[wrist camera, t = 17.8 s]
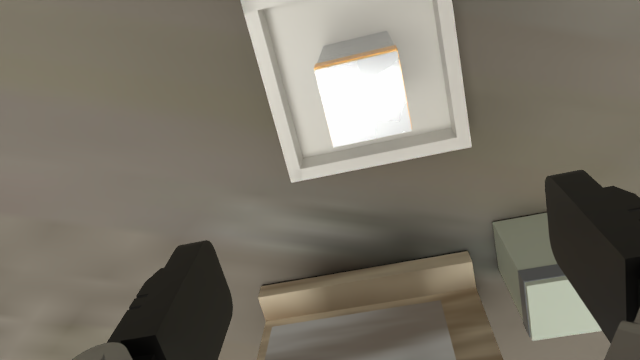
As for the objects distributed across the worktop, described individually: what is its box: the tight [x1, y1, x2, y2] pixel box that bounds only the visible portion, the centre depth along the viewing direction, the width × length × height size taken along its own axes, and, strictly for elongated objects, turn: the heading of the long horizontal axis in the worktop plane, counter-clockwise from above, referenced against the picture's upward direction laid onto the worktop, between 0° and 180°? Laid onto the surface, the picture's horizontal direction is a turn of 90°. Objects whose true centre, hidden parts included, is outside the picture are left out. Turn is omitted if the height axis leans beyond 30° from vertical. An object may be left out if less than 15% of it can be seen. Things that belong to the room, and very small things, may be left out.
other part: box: [492, 213, 602, 341], centre depth 34 cm, size 4×4×8 cm
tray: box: [240, 0, 472, 183], centre depth 32 cm, size 12×12×3 cm
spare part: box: [314, 31, 412, 147], centre depth 29 cm, size 4×4×8 cm
